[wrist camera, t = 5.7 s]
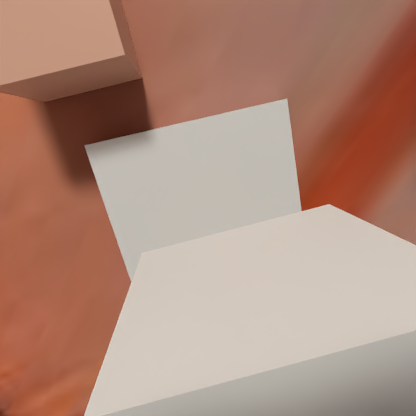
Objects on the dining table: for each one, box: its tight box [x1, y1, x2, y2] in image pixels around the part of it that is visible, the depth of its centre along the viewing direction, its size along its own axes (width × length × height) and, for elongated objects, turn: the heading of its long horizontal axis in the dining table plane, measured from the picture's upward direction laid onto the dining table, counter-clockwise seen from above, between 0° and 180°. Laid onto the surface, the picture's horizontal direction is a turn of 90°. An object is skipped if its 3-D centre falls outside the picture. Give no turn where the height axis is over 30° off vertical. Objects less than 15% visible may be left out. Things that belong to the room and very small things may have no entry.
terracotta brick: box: [0, 0, 142, 102], centre depth 13 cm, size 6×6×5 cm
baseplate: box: [84, 99, 301, 282], centre depth 18 cm, size 12×12×2 cm
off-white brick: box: [84, 204, 416, 416], centre depth 7 cm, size 6×6×5 cm
